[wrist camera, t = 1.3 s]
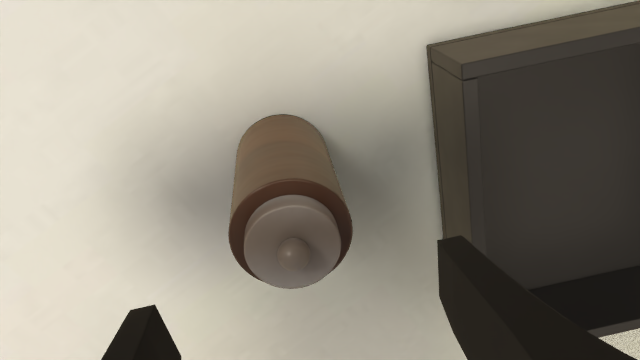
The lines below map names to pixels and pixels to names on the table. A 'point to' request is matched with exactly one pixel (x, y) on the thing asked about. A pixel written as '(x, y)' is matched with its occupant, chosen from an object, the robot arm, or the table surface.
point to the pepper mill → (287, 205)
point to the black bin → (547, 158)
